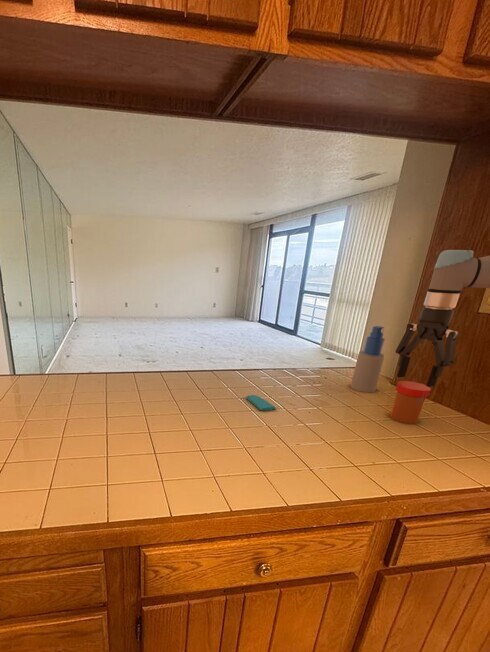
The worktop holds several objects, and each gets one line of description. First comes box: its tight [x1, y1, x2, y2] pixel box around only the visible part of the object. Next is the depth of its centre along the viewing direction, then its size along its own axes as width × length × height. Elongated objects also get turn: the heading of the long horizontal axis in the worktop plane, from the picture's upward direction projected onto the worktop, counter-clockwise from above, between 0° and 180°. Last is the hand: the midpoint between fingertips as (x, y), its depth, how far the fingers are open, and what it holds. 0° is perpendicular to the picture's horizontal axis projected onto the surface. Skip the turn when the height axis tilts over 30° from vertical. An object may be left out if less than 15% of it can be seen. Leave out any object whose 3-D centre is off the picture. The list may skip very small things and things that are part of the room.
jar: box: [389, 390, 427, 425], centre depth 112 cm, size 8×8×11 cm
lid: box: [395, 380, 432, 398], centre depth 110 cm, size 9×9×2 cm
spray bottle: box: [350, 325, 385, 393], centre depth 136 cm, size 9×9×25 cm
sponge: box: [246, 394, 276, 411], centre depth 123 cm, size 2×12×6 cm
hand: (415, 381), depth 109 cm, fingers open, 9 cm apart
